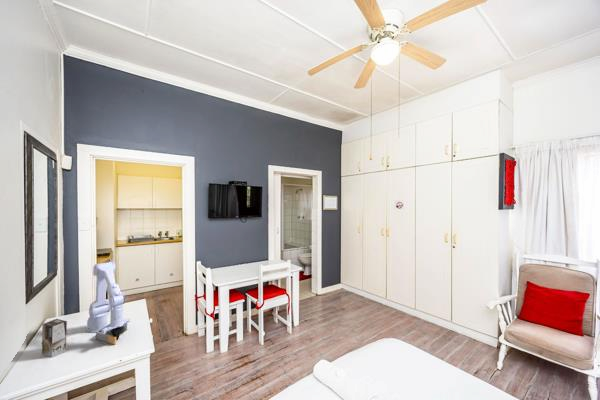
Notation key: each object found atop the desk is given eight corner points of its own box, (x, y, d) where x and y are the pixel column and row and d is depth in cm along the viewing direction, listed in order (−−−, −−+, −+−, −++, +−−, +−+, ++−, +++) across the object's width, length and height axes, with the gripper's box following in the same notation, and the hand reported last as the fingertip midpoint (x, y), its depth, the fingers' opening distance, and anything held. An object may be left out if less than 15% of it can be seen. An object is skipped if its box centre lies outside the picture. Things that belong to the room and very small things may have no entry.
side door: (95, 338, 143) (95, 332, 143) (97, 337, 144) (97, 331, 144) (114, 344, 138) (114, 337, 138) (116, 343, 138) (116, 336, 139)
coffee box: (66, 350, 132) (67, 321, 132) (51, 357, 126) (52, 326, 126) (56, 347, 135) (57, 318, 135) (41, 354, 129) (41, 323, 129)
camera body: (98, 338, 144) (98, 330, 144) (111, 329, 154) (111, 321, 154) (115, 338, 144) (115, 330, 144) (128, 330, 154) (128, 322, 154)
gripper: (108, 323, 132) (107, 348, 132) (133, 312, 146) (133, 334, 146) (99, 321, 134) (98, 345, 134) (125, 310, 148) (125, 332, 148)
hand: (116, 339), depth 140 cm, fingers closed
